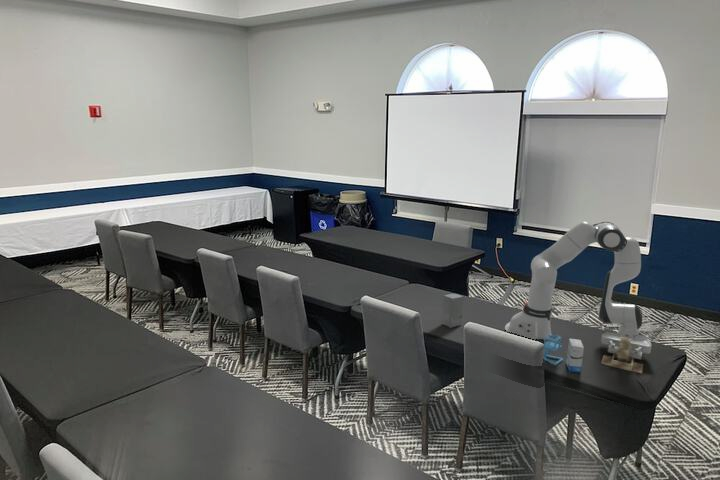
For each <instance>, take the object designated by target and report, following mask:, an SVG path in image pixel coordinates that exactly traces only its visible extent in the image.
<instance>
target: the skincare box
mask: <svg viewBox="0 0 720 480" xmlns="http://www.w3.org/2000/svg"><path fill="white" fill-rule="evenodd" d="M442 303H443V304H442V323H441V325H444V326H446V327H448V328H450V329H452V328H454V327H458V326H462V321H463V316H462V315H463V306H464V305H463V304H464V296H463V295H460V294H457V293H449V294H444V295H443V301H442Z"/></svg>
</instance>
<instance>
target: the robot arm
mask: <svg viewBox="0 0 720 480" xmlns="http://www.w3.org/2000/svg"><path fill="white" fill-rule="evenodd" d="M594 243H595V244H596V243H597V244H598V245H599V246H600V247H601V248H602V249H604V250H607V251H611V252H613V253H614V264H613V267H612V269H611V270H608V271H607V274H606V276H605V281H604V285H603V289H602V291H603V292H602V295H601V300H600V301H601V302H600V305H599V308H598V311H597V314H598V316H597V317H598V319H599V320H600V321H601V322H602V323H604V324H605V325H612V324H613V325H619V327H618V330H617V332H616V333H614V332H610V331H609V332H608V331H606V332H603V333H602V334H601V338H600V343H601V344H603V345H607V346H609V345H610V346H611V348H615V347H619V346H620V340H621V336H622V337H626V338H631V345H630V350H633V351H635V352H634V353H636V354H638V353H640V352H642V354H646V355H647V354H648V355H649V354H651V351H652V342H651V340H650V337H649V335H647V334H644V333H641V332H640V328H642V324H643V312H642V310H641V308H640V307H639V306H638V305H636V304H631V303H629V304H628V303H613V302H612V295H613V290H614V287H615V286H616V285H619V284H622V283H624V282H625V283H626V282H629V281H631V280H633V279H636V277H638V276H639V274H640V272H641V269H642V255H641V253H642V252H641V247H640V242H639V241H638V240H637V239H636V238H633V237H630V236H625V235H624V234H623V232H622V231H621V230H620V228H619V226H617V225H616V224H614V223H612V222H611V221H602V222H598V223H596V224H592V223H591V222H588V221H581V222H579V223H577V224H575V226H573V227H571V228H570V229H569V230H568V231H567V232H566V233H564V235H562V236H561V237H560V238H559V239H558V240H557V241H556V242H555V243H553V244H552V245H551V246H549V247H548V248H546V249H545V250H543V251H542V252H540V253H539V254H537V255H536V256H534V257H533V258H532V260H531V263H530V270H531V280H530V281H531V282H530V287H529V291H528V301H527V302H524V304H523V306H522V311H520V312H517V313H516V314H514V315H513V316H512V317H511V319H510V321H509V322H507V323H506V324H505V326H504V331H505V330H506V331H505V332H506V333H509V332H510V333H509V334H512V333H517V335H516V336H518V334H519V335H520V336H519V337H522V336H524V337H523V338H525V337H527V338H526V339H528V338H531V339H534V340H533V341H536V339H537V340H544V339H543V338H549V335H553V334H552V329H551V320H552V314H553V308H552V304H553V298H554V297H553V296H554V290H555V287H556V281H557V276H558V271H557V270H558V269H559V268H560V267H562V266H564V265H565V264H567V263H570V262H572V260H574V259H575V258H576V257H577V256H578V255H580V254H581V253H582V252H583V251H584V250H585V249H586V248H587V247H589V246H590V245H592V244H594ZM511 332H512V333H511ZM521 335H522V336H521ZM531 339H530V340H531Z"/></svg>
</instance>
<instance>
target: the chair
mask: <svg viewBox="0 0 720 480" xmlns="http://www.w3.org/2000/svg"><path fill="white" fill-rule="evenodd" d="M553 337H554V338H553ZM542 340H543V342H544V343H543V344H544V349H543V348H542V352H543V356H544V361H545V362H547V361H548V362H547V363H549V364H551V365H552V364H553V365H552V366H554V365H555V366H554V367H556V366H558V365H559V364H561V363H562V362H563V361H564V358H563V357H559V356H554V355H550V354H549V352H550V351H552V352H554V353H555V352H556V353H557V351H558V350H560V349H562V348H563V345H562V343H561V342H562V340H563V338H562V337H561V336H560V335H558V334H552V335H549V338H543V339H542ZM547 357H548V358H547ZM552 358H553V359H554V360H557V361H555V362H554V361H552V360H551V359H552Z"/></svg>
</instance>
